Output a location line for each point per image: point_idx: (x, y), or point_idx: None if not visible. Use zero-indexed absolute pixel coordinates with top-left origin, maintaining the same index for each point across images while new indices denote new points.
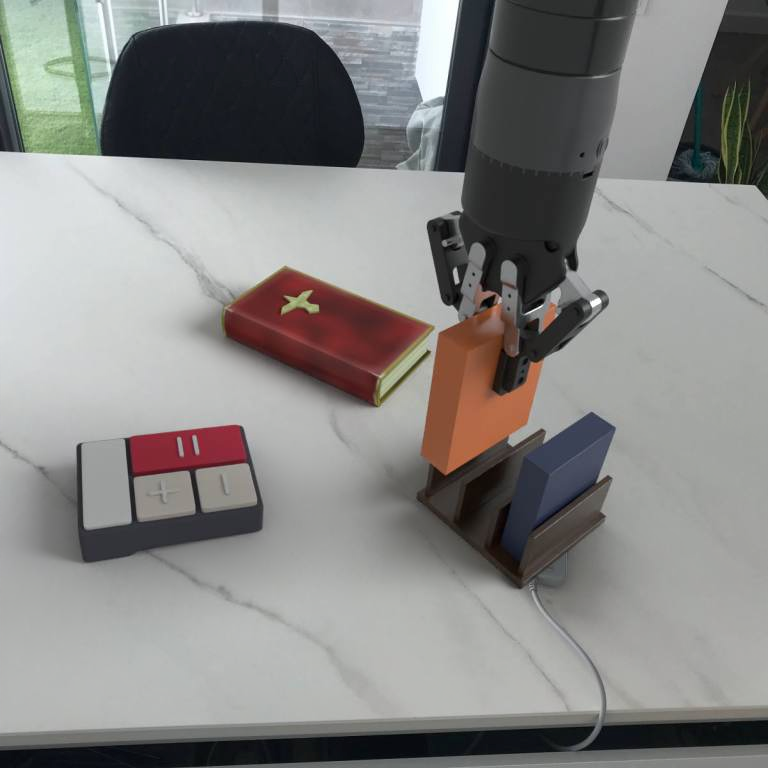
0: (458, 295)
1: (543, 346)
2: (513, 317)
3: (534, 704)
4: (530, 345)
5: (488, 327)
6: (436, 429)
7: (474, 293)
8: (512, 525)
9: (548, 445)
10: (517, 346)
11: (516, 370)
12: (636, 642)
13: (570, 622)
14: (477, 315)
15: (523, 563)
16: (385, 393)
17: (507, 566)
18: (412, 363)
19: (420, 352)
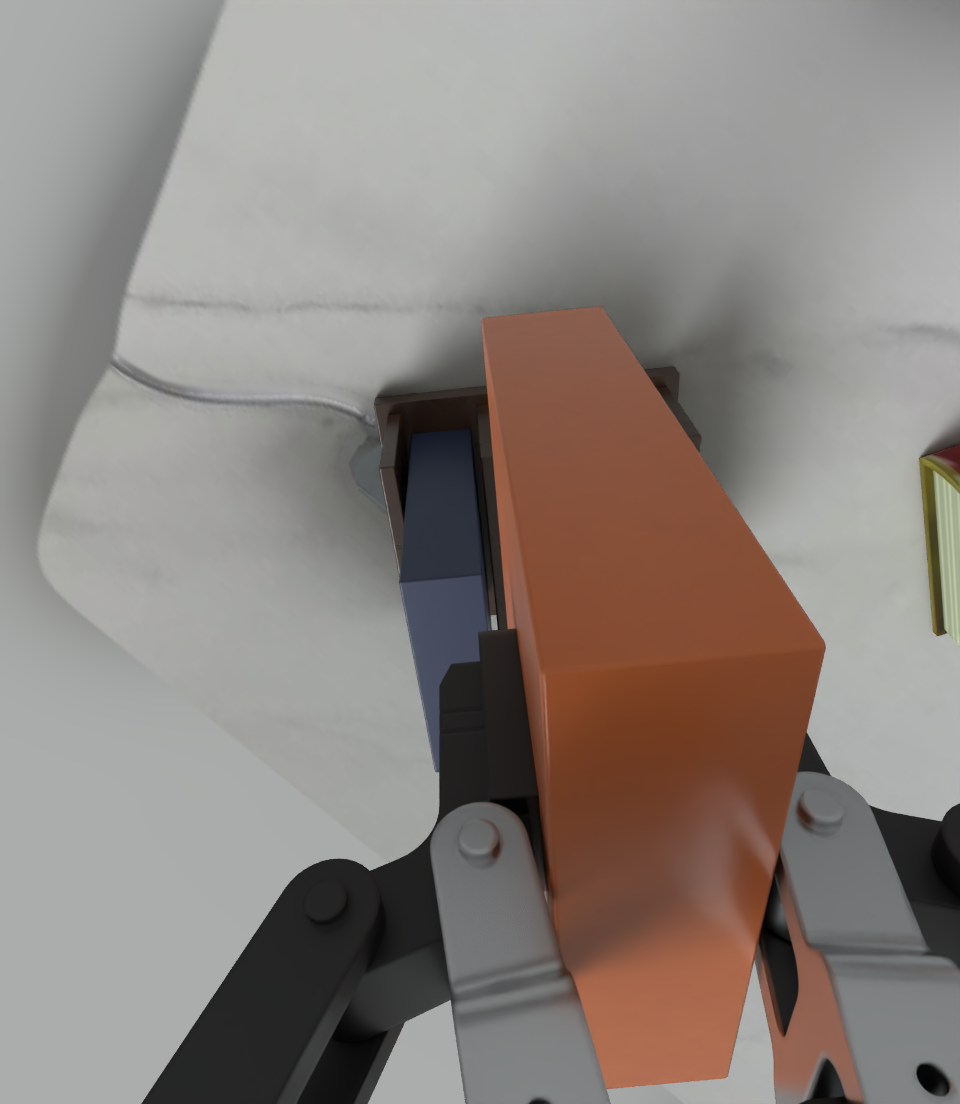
0: (956, 899)
1: (263, 995)
2: (481, 1071)
3: (152, 241)
4: (355, 941)
5: (646, 864)
6: (573, 364)
7: (856, 1035)
8: (456, 463)
9: (476, 639)
10: (438, 880)
11: (440, 761)
12: (188, 489)
13: (272, 424)
14: (761, 876)
15: (391, 428)
16: (934, 492)
17: (421, 406)
18: (945, 586)
19: (952, 617)
